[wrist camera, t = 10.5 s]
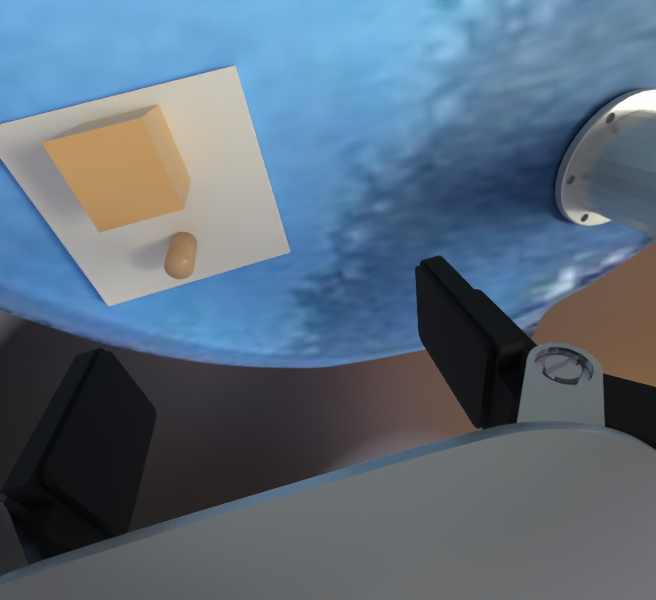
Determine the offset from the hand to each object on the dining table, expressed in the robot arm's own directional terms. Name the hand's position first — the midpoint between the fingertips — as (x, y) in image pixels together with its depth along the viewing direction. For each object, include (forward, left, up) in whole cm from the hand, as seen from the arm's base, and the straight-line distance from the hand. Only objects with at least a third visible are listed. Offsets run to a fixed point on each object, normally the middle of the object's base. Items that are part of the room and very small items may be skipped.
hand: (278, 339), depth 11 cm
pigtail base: (+6, 0, -21) cm, 22 cm away
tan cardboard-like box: (+6, -3, -20) cm, 21 cm away
